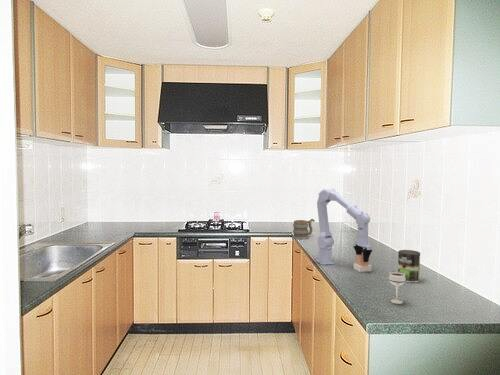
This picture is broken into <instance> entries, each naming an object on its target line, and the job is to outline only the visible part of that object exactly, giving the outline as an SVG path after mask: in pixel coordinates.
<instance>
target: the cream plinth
mask: <svg viewBox="0 0 500 375" xmlns="http://www.w3.org/2000/svg"><path fill="white" fill-rule="evenodd" d="M353 269H354V270H355V271H358V272H359V273H361V272H362V273H365V272H366V273H367V272H372V265H371V264H369V265H367V266H360V265H358V264H356V262H354V263H353Z"/></svg>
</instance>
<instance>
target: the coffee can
mask: <svg viewBox="0 0 500 375" xmlns="http://www.w3.org/2000/svg"><path fill="white" fill-rule="evenodd" d="M397 252H398V261H397V262H398V263H397V266H398V268H397V272H403V273H405V274H406V275H405V278H406V281H405V283H412V284H414V283H419V282H420V275H421V274H420V271H421V270H420V268H421V267H420V266H421V252H420V251H417V250H413V249H400V250H398V251H397Z"/></svg>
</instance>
